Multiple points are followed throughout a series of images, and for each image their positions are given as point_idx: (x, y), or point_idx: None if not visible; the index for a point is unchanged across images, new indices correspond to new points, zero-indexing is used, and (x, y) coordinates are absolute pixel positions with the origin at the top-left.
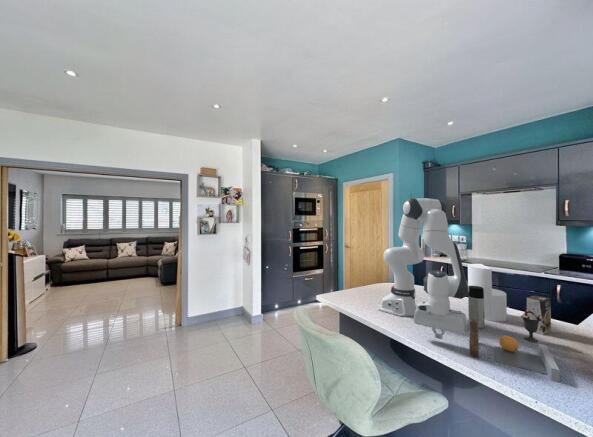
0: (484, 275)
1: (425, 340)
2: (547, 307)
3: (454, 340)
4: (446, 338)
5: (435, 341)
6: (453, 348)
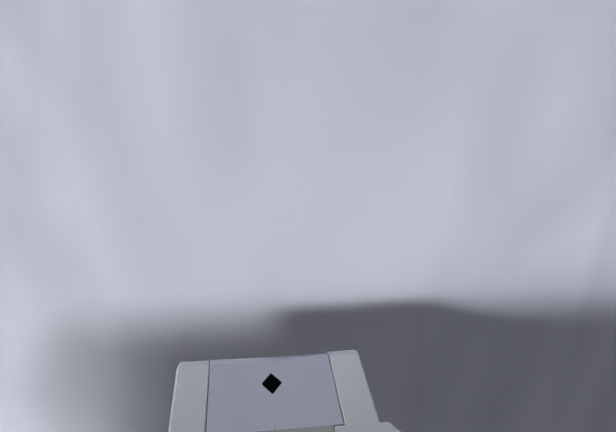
0: None
1: (15, 420)
2: None
3: (598, 46)
4: (417, 37)
5: (200, 349)
6: (510, 413)
